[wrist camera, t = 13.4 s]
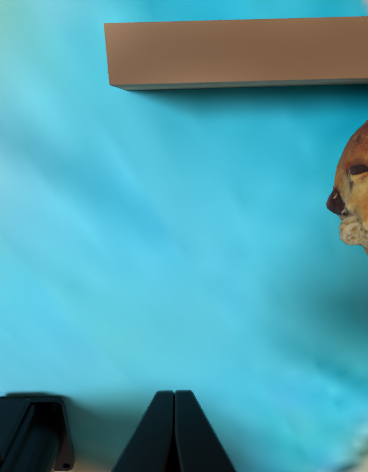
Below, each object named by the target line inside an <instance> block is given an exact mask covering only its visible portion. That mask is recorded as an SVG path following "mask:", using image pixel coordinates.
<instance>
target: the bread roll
mask: <svg viewBox="0 0 368 472" xmlns="http://www.w3.org/2000/svg"><path fill="white" fill-rule="evenodd" d="M326 205H327V209H329V210H330V211H331V212H333V213H335V214H337V215H339V217H340V219H341V220H342V222H341V224H340V226H339V229H340V232H339V235H340V239H341V240H342V241H343V242H344V243H346V244H347V245H362V246H363V247H364V250H365V252H366V253H367V255H368V120H367V121H366V122H365V123H364V124H363V125H362V126H361V127H360V128H359V129H358V130H357V131H356V132H355V133H354V134H353V135H352V137H351V138H350V139H349V141H348V143H347V144H346V146H345V148H344V151H343V153H342V156H341V158H340V160H339V163H338V165H337V169H336V174H335V181H334V186H333V191H332V193H331V194H330V196H329V198H328V200H327V203H326Z"/></svg>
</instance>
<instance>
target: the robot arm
mask: <svg viewBox="0 0 368 472" xmlns="http://www.w3.org/2000/svg"><path fill="white" fill-rule="evenodd" d="M54 404H55V405H54ZM74 463H75V457H74V452H73V447H72V442H71V436H70V431H69V426H68V421H67V416H66V410H65V405H64V401H63V400H62V399H61V398H59V397H31V398H0V472H54V471H68V470H71V469H73V467H74ZM111 472H237V471H236V469H235V467H234V466H233V464H232V462H231V460H230V458H229V457H228V455H227V453H226V451H225V449H224V448H223V446H222V444H221V442H220V440H219V439H218V437H217V435H216V433H215V431H214V430H213V428H212V426H211V424H210V422H209V421H208V419H207V417H206V415H205V413H204V412H203V410H202V408H201V406H200V404H199V402H198V401H197V399H196V397H195V395H194V393H193V392H192V391H191V390H176V391H175V394H174V392H173V391H172V390H165V391H157V392H156V394H155V395H154V397H153V399H152V401H151V402H150V404H149V406H148V408H147V409H146V411H145V413H144V414H143V416H142V418H141V420H140V421H139V423H138V425H137V427H136V428H135V430H134V432H133V434H132V435H131V437H130V439H129V441H128V442H127V444H126V446H125V448H124V449H123V451H122V453H121V454H120V456H119V458H118V460H117V461H116V463H115V465H114V467H113V468H112V470H111Z"/></svg>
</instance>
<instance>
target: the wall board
mask: <svg viewBox="0 0 368 472" xmlns="http://www.w3.org/2000/svg"><path fill="white" fill-rule="evenodd" d="M104 30H105V41H106V52H107V63H108V73H109V84H110V85H111V86H114V87H117V88H120V89H123V90H157V89H194V88H231V87H268V86H305V85H342V84H368V16H362V17H325V18H287V19H250V20H212V21H175V22H137V23H104Z"/></svg>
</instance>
